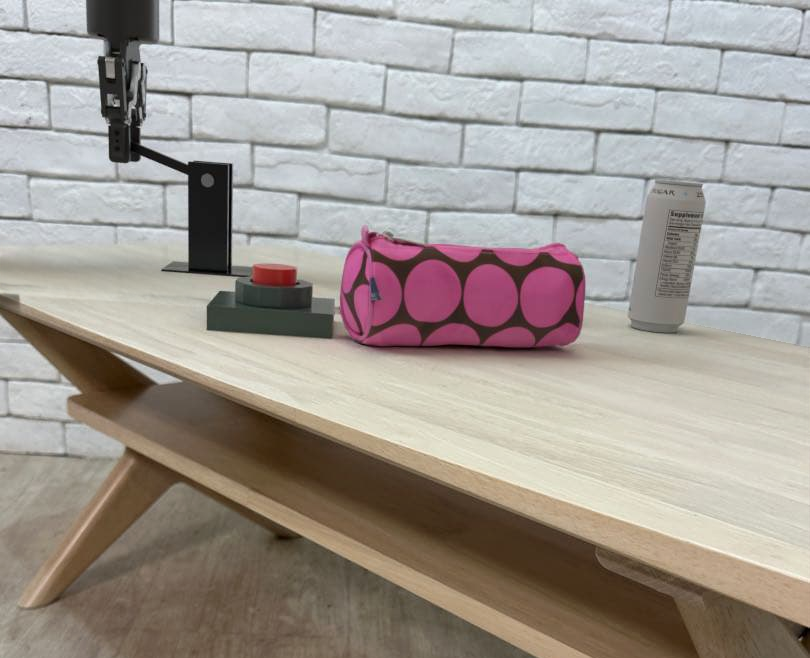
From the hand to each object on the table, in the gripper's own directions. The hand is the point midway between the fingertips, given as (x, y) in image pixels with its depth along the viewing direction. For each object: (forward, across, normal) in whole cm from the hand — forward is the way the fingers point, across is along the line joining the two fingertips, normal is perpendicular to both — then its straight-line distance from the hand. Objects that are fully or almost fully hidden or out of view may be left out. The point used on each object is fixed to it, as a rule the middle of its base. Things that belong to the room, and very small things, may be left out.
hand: (125, 161), depth 112 cm
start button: (+8, +28, +19) cm, 35 cm away
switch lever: (+1, 0, +5) cm, 5 cm away
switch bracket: (+12, 0, +10) cm, 16 cm away
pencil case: (+12, +32, +36) cm, 49 cm away
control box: (+12, +28, +19) cm, 36 cm away
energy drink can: (+12, +14, +59) cm, 62 cm away
